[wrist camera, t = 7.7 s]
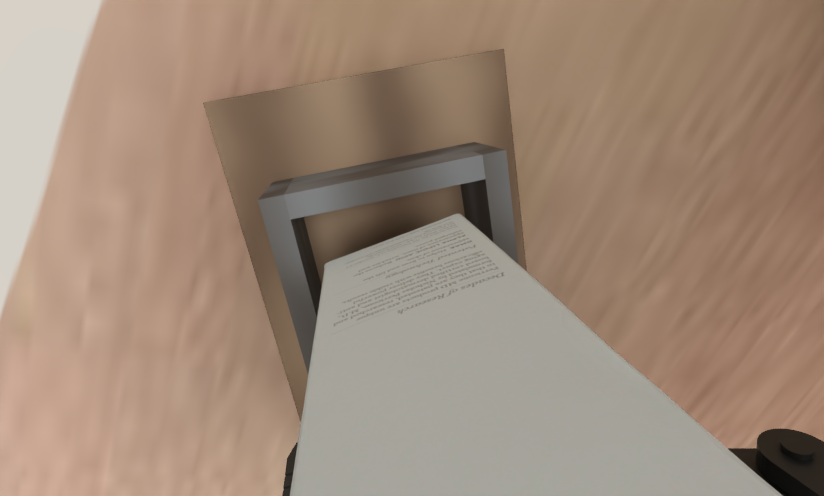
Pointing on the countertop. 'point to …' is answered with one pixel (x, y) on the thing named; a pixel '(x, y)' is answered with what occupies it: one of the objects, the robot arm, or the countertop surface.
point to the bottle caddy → (363, 175)
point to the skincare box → (483, 388)
